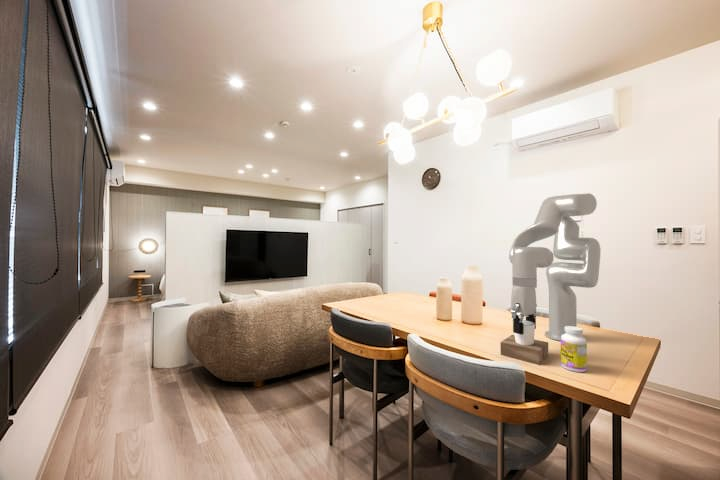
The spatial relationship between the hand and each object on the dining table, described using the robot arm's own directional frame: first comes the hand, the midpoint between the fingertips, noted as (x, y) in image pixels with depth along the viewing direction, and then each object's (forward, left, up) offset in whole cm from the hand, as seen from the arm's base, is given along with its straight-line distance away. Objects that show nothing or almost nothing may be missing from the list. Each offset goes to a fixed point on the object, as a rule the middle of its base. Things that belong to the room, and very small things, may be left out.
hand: (524, 330), depth 103 cm
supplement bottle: (-1, +14, -9) cm, 17 cm away
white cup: (0, 0, -4) cm, 4 cm away
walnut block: (0, 0, -9) cm, 9 cm away
